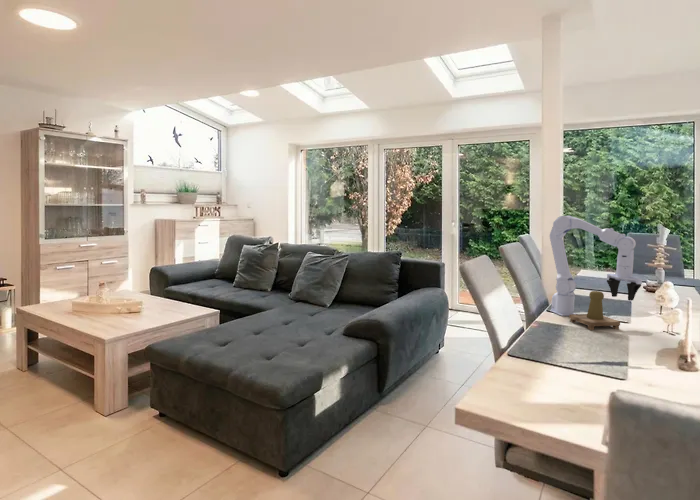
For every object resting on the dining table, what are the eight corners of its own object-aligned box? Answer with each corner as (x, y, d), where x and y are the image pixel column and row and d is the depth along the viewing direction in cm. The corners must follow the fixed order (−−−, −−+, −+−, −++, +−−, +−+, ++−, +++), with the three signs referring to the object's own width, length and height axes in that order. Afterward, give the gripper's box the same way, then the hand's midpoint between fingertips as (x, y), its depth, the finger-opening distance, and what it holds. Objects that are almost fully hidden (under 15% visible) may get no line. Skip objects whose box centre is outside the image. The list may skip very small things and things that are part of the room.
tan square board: (569, 321, 188) (569, 314, 188) (596, 320, 191) (597, 313, 190) (590, 330, 176) (590, 322, 175) (619, 329, 178) (620, 321, 177)
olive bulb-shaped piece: (588, 319, 181) (590, 292, 180) (585, 315, 187) (586, 289, 186) (605, 320, 179) (607, 293, 178) (601, 316, 185) (603, 290, 184)
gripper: (602, 264, 190) (600, 295, 192) (633, 268, 177) (631, 302, 178) (615, 263, 193) (612, 294, 194) (646, 268, 179) (644, 301, 180)
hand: (622, 298), depth 186 cm, fingers open, 7 cm apart
